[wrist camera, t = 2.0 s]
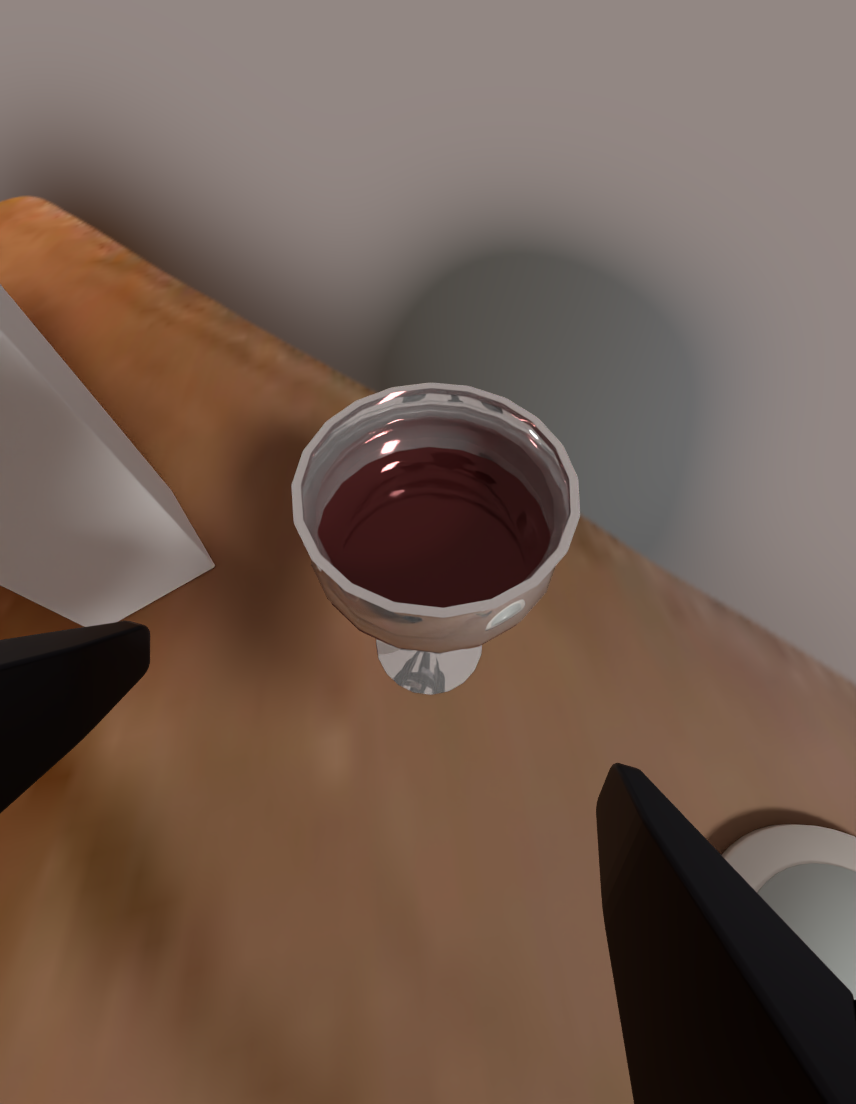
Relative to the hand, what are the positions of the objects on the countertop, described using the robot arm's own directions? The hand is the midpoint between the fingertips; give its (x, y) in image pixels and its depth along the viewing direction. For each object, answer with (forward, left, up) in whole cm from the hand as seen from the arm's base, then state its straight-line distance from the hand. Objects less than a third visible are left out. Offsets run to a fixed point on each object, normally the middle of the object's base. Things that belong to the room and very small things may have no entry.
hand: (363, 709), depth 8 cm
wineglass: (+3, +4, -12) cm, 13 cm away
